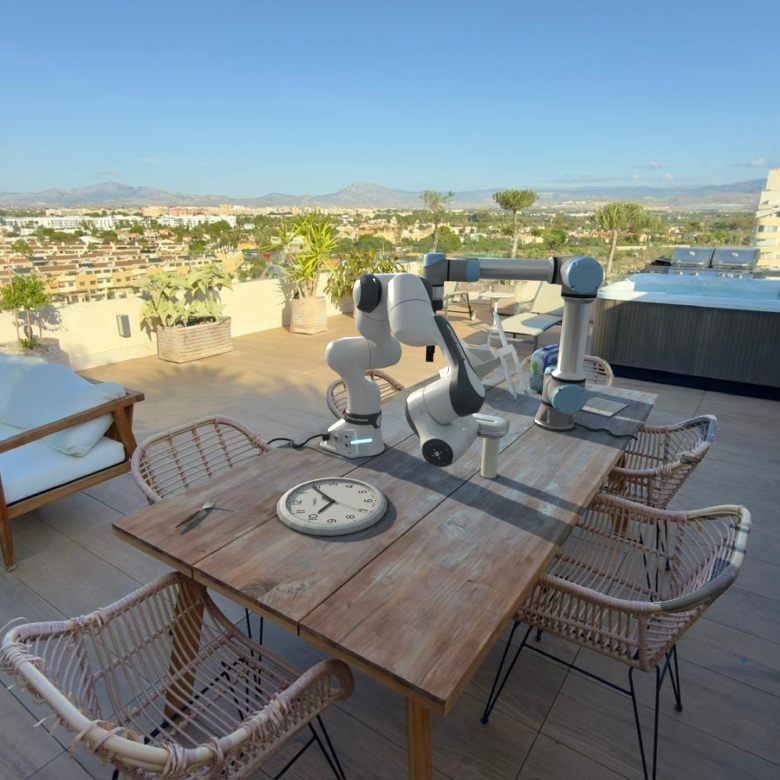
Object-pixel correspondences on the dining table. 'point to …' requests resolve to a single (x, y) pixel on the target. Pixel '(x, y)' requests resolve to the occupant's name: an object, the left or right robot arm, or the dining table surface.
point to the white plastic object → (493, 359)
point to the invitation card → (603, 406)
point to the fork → (206, 505)
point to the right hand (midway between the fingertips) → (430, 357)
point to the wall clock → (331, 506)
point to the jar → (490, 457)
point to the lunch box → (542, 365)
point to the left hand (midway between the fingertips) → (476, 412)
